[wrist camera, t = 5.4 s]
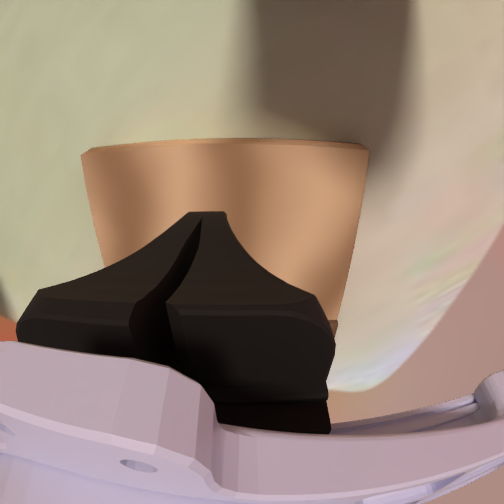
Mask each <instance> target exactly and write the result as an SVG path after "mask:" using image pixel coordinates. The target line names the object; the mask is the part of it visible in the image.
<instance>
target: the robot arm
mask: <svg viewBox="0 0 504 504" xmlns="http://www.w3.org/2000/svg"><path fill="white" fill-rule="evenodd" d="M16 334H17V338H18V341H3V342H0V504H422V503H425V502H427V501H430V500H433V499H435V498H438V497H440V496H442V495H445V494H447V493H449V492H452V491H454V490H456V489H458V488H461V487H462V486H465V485H467V484H469V483H471V482H473V481H475V480H477V479H479V478H481V477H483V476H485V475H487V474H489V473H491V472H493V471H494V470H496V469H498V468H499V467H501V466H502V465H504V370H502V371H499V372H496V373H493V374H491V375H489V376H488V377H486V378H485V379H484V380H483V381H482V382H481V383H480V384H479V385H478V387H477V388H476V389H475V391H474V393H472V394H469V395H466V396H463V397H460V398H457V399H453V400H449V401H446V402H442V403H439V404H435V405H431V406H427V407H423V408H419V409H415V410H411V411H406V412H401V413H397V414H391V415H386V416H381V417H375V418H369V419H363V420H357V421H350V422H342V423H334V424H331V423H330V418H329V413H328V407H327V402H326V400H327V399H328V389H327V384H326V380H327V377H328V374H329V371H330V368H331V365H332V362H333V358H334V355H335V347H336V343H335V340H334V335H333V331H332V328H331V326H330V323H329V321H328V319H327V317H326V315H325V312H324V310H323V309H322V307H321V305H320V303H319V301H318V299H317V297H316V296H315V295H314V294H311V293H309V292H307V291H304V290H302V289H300V288H297V287H295V286H293V285H290V284H289V283H287V282H285V281H283V280H281V279H280V278H278V277H276V276H275V275H273V274H272V273H270V272H269V271H267V270H266V269H265V268H263V267H262V266H261V265H259V264H258V263H257V262H256V261H255V260H254V259H253V258H252V257H251V256H250V255H249V254H248V252H247V251H246V250H245V249H244V248H243V246H242V245H241V244H240V242H239V241H238V239H237V238H236V236H235V234H234V233H233V231H232V229H231V227H230V225H229V223H228V220H227V214H226V213H225V212H224V211H197V212H188V213H187V214H185V215H184V216H183V217H182V218H180V219H179V220H178V221H177V222H176V223H174V224H173V225H172V226H171V227H169V228H168V229H167V230H166V231H164V232H163V233H162V234H161V235H159V236H158V237H156V238H155V239H154V240H152V241H151V242H150V243H148V244H147V245H145V246H144V247H142V248H141V249H139V250H138V251H136V252H134V253H133V254H131V255H129V256H128V257H126V258H124V259H122V260H120V261H118V262H116V263H114V264H112V265H110V266H108V267H105V268H103V269H101V270H99V271H97V272H94V273H92V274H89V275H86V276H84V277H81V278H78V279H75V280H72V281H69V282H66V283H62V284H58V285H55V286H51V287H47V288H43V289H39V290H38V291H37V293H36V294H35V296H34V297H33V299H32V300H31V302H30V303H29V305H28V306H27V308H26V310H25V311H24V313H23V314H22V316H21V317H20V319H19V321H18V322H17V326H16Z"/></svg>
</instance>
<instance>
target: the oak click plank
mask: <svg viewBox="0 0 504 504" xmlns="http://www.w3.org/2000/svg"><path fill="white" fill-rule="evenodd" d="M369 153H370V151H369V150H368V149H367V148H365V147H364V146H362V145H361V144H354V143H342V142H329V141H314V140H295V139H259V138H227V139H191V140H172V141H157V142H144V143H133V144H123V145H113V146H105V147H97V148H91V149H90V150H88V151H87V152H85V153H83V154H82V155H81V160H82V166H83V172H84V178H85V183H86V189H87V194H88V199H89V204H90V208H91V213H92V218H93V222H94V226H95V230H96V235H97V239H98V243H99V247H100V250H101V254H102V258H103V262H104V265H105V267H108V266H110V265H112V264H114V263H116V262H118V261H120V260H122V259H124V258H126V257H128V256H129V255H131V254H133V253H134V252H136V251H138V250H139V249H141V248H142V247H144V246H145V245H147V244H148V243H150V242H151V241H152V240H154V239H155V238H156V237H158V236H159V235H161V234H162V233H163V232H164V231H166V230H167V229H168V228H169V227H171V226H172V225H173V224H174V223H176V222H177V221H178V220H179V219H180V218H182V217H183V216H184V215H185V214H187V213H188V212H197V211H224V212H225V213H226V214H227V220H228V223H229V225H230V227H231V229H232V231H233V233H234V234H235V236H236V238H237V239H238V241H239V242H240V244H241V245H242V246H243V248H244V249H245V250H246V251H247V252H248V254H249V255H250V256H251V257H252V258H253V259H254V260H255V261H256V262H257V263H258V264H259V265H261V266H262V267H263V268H265V269H266V270H267V271H269V272H270V273H272V274H273V275H275V276H276V277H278V278H280V279H281V280H283V281H285V282H287V283H289V284H290V285H293V286H295V287H297V288H300V289H302V290H304V291H307V292H309V293H311V294H314V295H315V296H316V297H317V299H318V301H319V303H320V305H321V307H322V309H323V310H324V312H325V315H326V317H327V319H328V320H337V318H338V314H339V310H340V306H341V302H342V298H343V294H344V290H345V285H346V281H347V277H348V272H349V268H350V263H351V258H352V254H353V249H354V244H355V239H356V234H357V228H358V223H359V218H360V212H361V206H362V200H363V194H364V188H365V181H366V175H367V168H368V161H369Z"/></svg>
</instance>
